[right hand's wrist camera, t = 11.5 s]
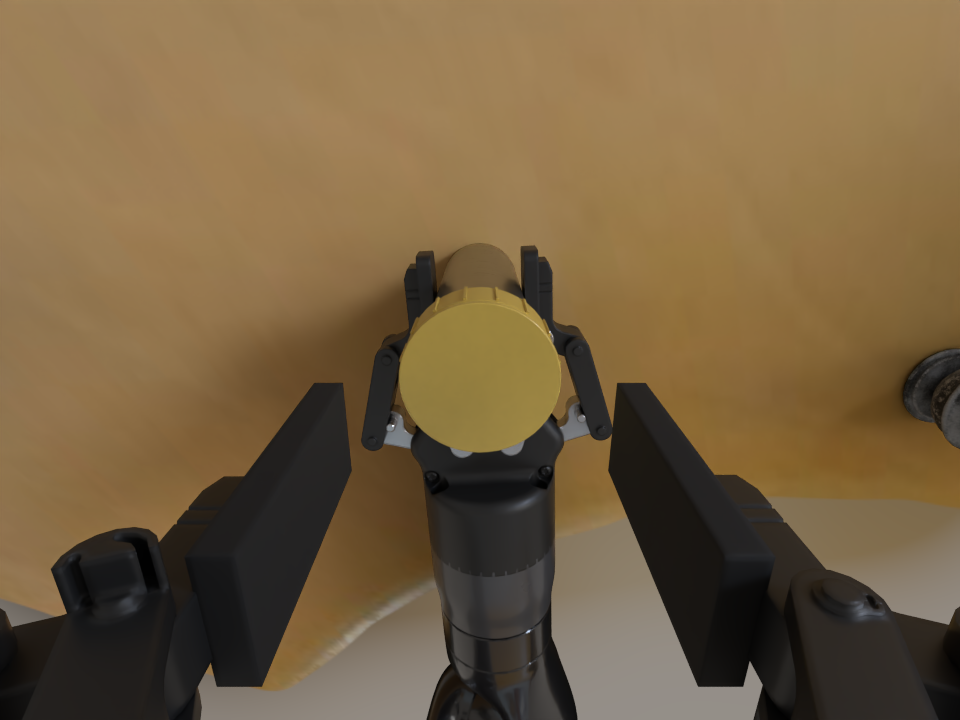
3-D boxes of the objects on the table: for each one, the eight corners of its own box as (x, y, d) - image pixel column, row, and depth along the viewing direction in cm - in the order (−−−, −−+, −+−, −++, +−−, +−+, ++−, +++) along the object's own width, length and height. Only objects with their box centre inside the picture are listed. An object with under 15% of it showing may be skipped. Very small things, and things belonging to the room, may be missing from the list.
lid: (441, 441, 21) (436, 474, 19) (382, 317, 19) (369, 338, 17) (572, 395, 20) (583, 423, 18) (523, 262, 18) (530, 275, 16)
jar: (460, 324, 33) (445, 451, 19) (432, 259, 32) (392, 342, 17) (526, 299, 33) (563, 410, 18) (500, 231, 31) (519, 293, 17)
